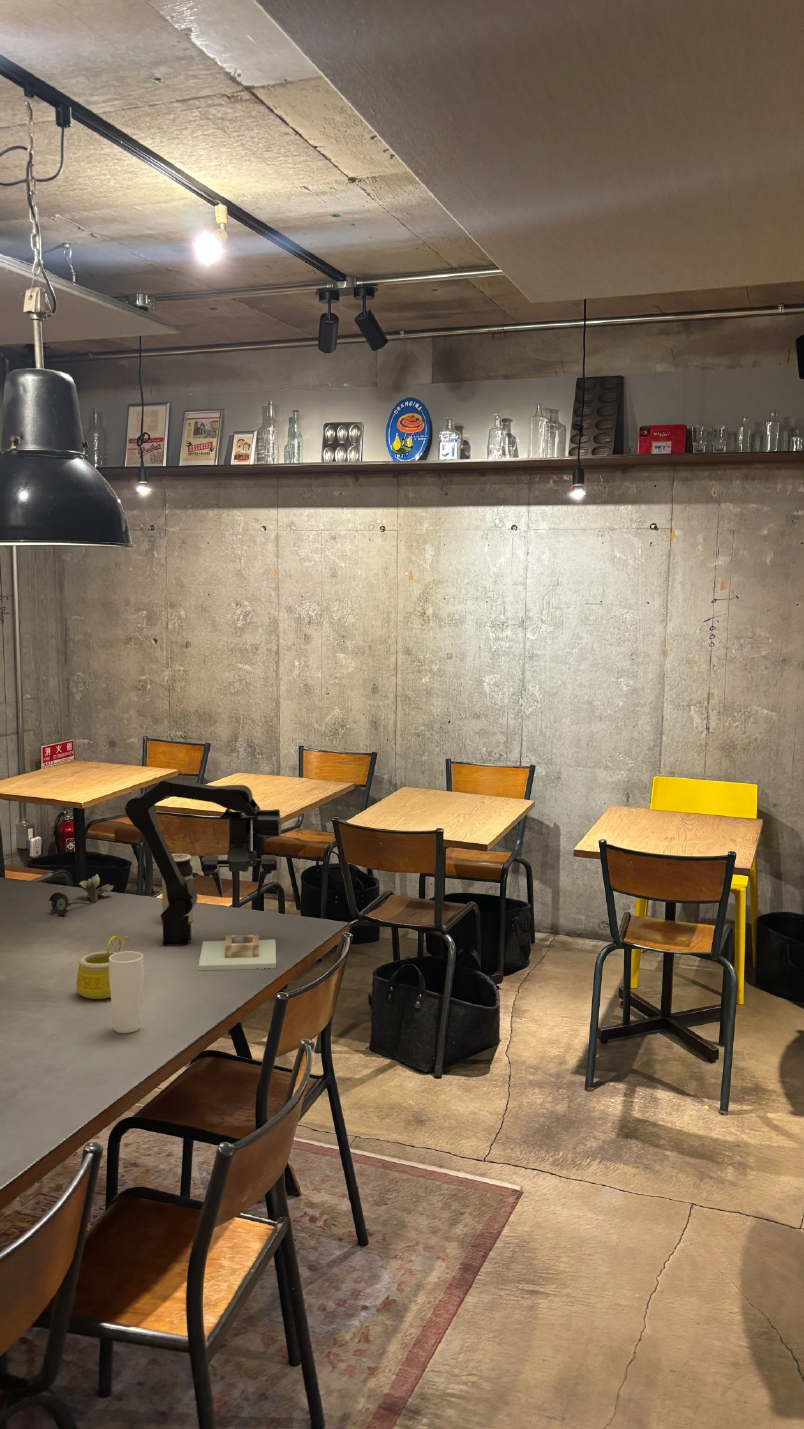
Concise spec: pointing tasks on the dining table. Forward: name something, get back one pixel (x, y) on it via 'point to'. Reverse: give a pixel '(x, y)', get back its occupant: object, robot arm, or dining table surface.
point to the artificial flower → (62, 901)
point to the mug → (96, 972)
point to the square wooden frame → (242, 947)
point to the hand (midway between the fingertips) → (239, 896)
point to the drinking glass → (126, 990)
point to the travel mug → (186, 872)
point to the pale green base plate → (216, 960)
